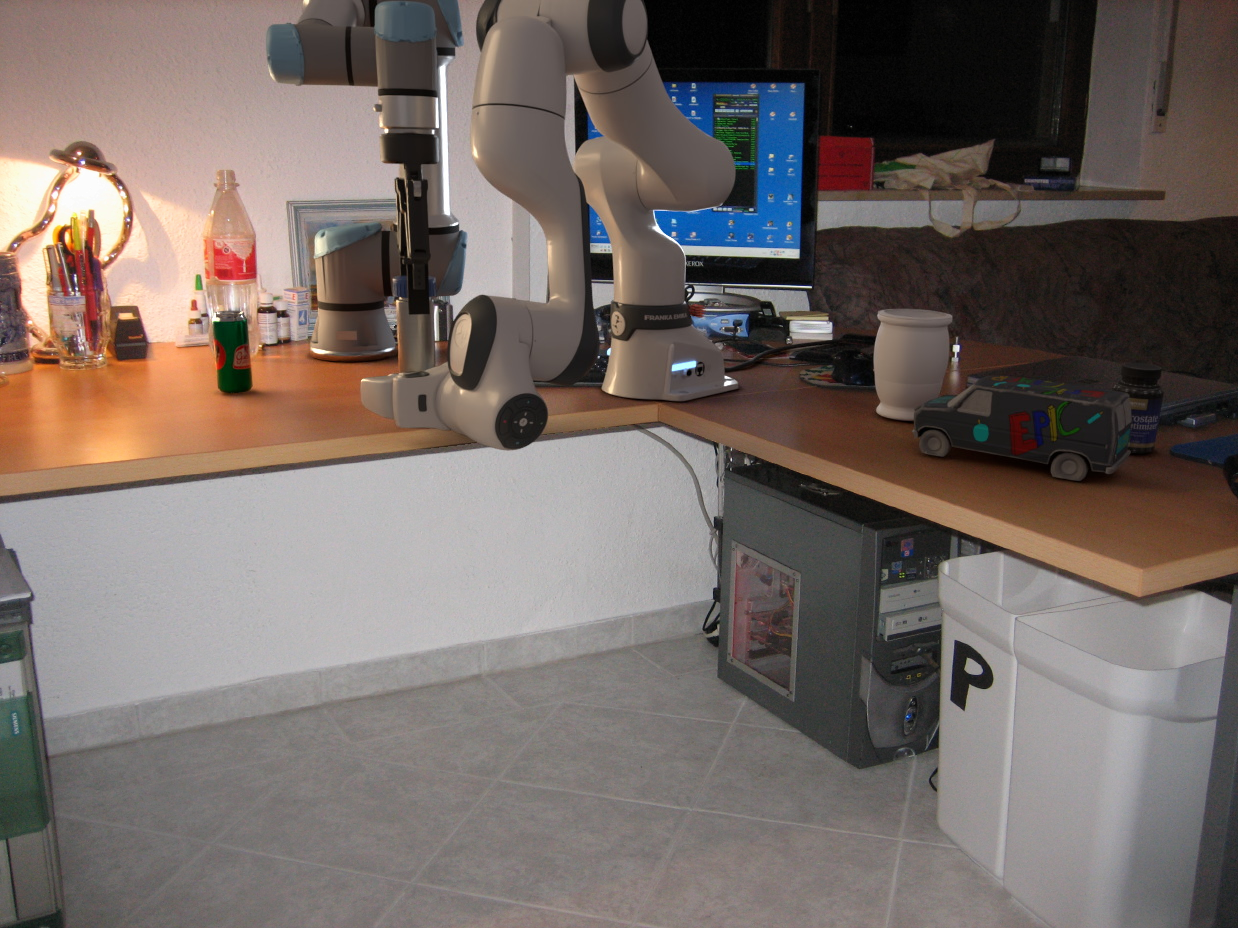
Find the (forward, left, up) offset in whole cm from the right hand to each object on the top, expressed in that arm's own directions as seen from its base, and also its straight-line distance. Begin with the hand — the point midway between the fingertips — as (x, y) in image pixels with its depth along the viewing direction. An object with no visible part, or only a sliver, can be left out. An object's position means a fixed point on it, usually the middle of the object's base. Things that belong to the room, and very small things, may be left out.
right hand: (414, 377), depth 147 cm
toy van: (-55, +58, -6) cm, 80 cm away
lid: (0, +1, +13) cm, 13 cm away
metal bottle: (0, +1, -6) cm, 6 cm away
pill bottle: (-73, +62, -6) cm, 96 cm away
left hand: (0, +1, +9) cm, 9 cm away
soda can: (+16, -30, -6) cm, 35 cm away
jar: (-62, +34, -6) cm, 71 cm away
